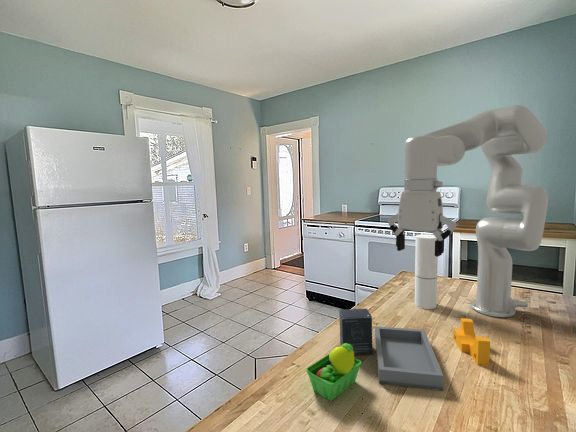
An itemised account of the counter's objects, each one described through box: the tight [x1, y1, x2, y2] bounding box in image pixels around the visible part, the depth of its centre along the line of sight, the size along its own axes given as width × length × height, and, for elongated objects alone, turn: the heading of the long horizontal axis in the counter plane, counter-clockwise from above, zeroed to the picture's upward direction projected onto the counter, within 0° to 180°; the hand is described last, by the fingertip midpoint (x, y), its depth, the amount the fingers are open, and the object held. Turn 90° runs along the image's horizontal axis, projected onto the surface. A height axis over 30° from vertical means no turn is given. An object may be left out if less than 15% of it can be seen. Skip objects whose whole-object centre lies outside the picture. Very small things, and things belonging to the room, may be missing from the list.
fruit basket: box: [305, 343, 362, 402], centre depth 69 cm, size 11×9×11 cm
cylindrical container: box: [414, 233, 439, 310], centre depth 109 cm, size 7×7×25 cm
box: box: [339, 308, 374, 356], centre depth 83 cm, size 8×6×11 cm
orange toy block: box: [452, 317, 491, 367], centre depth 81 cm, size 12×4×6 cm, turn 169°
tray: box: [374, 325, 444, 392], centre depth 78 cm, size 13×20×4 cm, turn 167°
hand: (418, 252), depth 80 cm, fingers open, 9 cm apart
